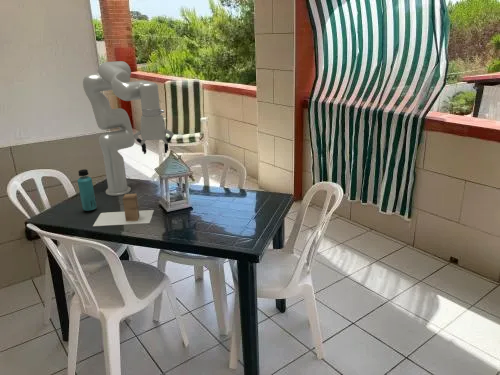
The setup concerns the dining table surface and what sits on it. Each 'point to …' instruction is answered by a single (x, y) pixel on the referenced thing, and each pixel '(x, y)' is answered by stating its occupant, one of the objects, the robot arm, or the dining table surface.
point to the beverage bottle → (86, 191)
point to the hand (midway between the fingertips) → (155, 152)
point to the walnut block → (131, 207)
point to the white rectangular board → (122, 218)
